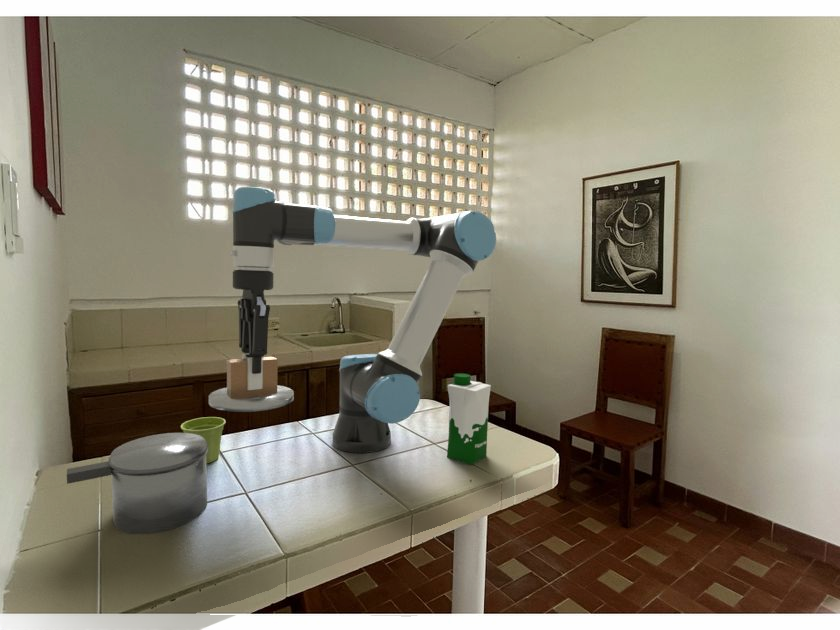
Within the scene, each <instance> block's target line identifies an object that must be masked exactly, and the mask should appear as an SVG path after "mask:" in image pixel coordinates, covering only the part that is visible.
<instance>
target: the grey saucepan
mask: <svg viewBox="0 0 840 630" xmlns="http://www.w3.org/2000/svg"><path fill="white" fill-rule="evenodd" d="M207 452H208V444H207V443H206V440H205V439H204V438H203V437H202V436H199V435H196V434H191V433H183V432H167V433H159V434H152V435H147V436H143V437H140V438H136V439H132V440H130V441H127V442H125V443H122V444H121V445H119V446H118V447H116V448H114V449H113V450H112V452H111V453H110V456H109V458H108V461H103V462H98V463H93V464H86V465H81V466H75V467H71V468H70V467H69V468H67V469H66V485H68V484H74V483H77V482H78V483H79V482H83V481H88V480H94V479H97V478H103V477H108V476H111V494H112V496H111V499H112V519H113V520H112V522H113V525H114V527H115V528H116V530H118V531H120V532H122V533H126V534H130V535H131V534H133V535H145V534H146V535H147V534H148V535H149V534H154V533H160V532H164V531H168V530H169V531H170V530H172V529H176V528H178V527H181V526H183V525H185V524H188V523H190V522H192V521H193V520H195V519H197V518H198V517H199V516H200V515H201V514H202V513H204V511H205V510H206V508H207V506H208V482H207V479H208V478H207V477H208V475H207V463H206V454H207Z"/></svg>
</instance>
